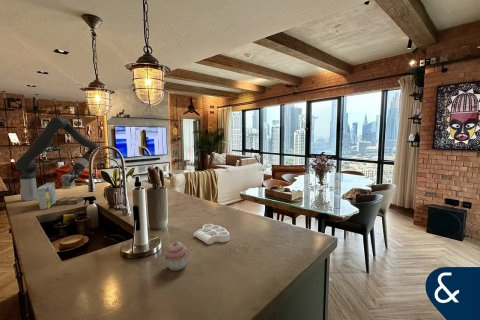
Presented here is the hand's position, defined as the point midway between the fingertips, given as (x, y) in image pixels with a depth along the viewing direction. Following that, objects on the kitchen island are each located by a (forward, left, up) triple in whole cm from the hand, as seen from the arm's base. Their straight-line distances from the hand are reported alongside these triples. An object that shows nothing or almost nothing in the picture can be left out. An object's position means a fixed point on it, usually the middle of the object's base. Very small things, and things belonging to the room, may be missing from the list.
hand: (66, 182), depth 175 cm
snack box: (-12, -3, -16) cm, 20 cm away
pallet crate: (+1, +1, -5) cm, 5 cm away
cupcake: (+91, -104, -16) cm, 139 cm away
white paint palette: (+105, -80, -17) cm, 133 cm away
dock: (+1, +1, -16) cm, 16 cm away
